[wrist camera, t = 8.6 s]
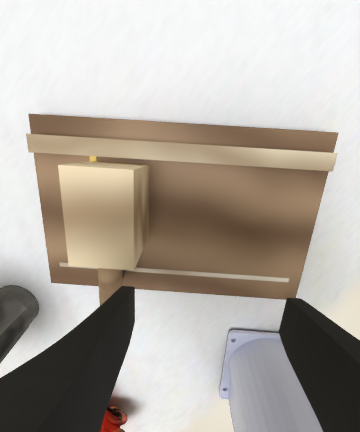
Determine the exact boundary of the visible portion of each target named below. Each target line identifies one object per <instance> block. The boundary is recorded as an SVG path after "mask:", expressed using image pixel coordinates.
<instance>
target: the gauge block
mask: <svg viewBox="0 0 360 432" xmlns="http://www.w3.org/2000/svg"><path fill="white" fill-rule="evenodd" d="M58 170H59V180H60V189H61V199H62V208H63V218H64V227H65V236H66V246H67V255H68V265H69V266H76V267H90V268H98V280H99V297H100V306H101V305H102V304H103V303H104V302H105V301H106V300H107V299H108V298H109V297H110V296H111V295H112V294H113V293H114V292H115V291H117V290H118V289H119V288H120V287H121V286H123V278H124V276H125V274H126V272H127V270H133V271H134V269H135V267H136V265H137V263H138V260H139V258H140V256H141V254H142V251H143V249H144V247H145V245H146V243H147V240H148V231H149V174H150V164H134V163H118V162H103V161H93V162H83V163H73V164H63V165H58Z"/></svg>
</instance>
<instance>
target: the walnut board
mask: <svg viewBox="0 0 360 432" xmlns="http://www.w3.org/2000/svg"><path fill="white" fill-rule="evenodd" d="M29 121H30V129H31V134H26V136H27V143H28V151H29V152H34V158H35V166H36V173H37V180H38V188H39V195H40V202H41V210H42V217H43V225H44V232H45V239H46V247H47V254H48V261H49V269H50V276H51V283H62V284H76V285H90V286H99V280H98V268H90V267H76V266H69V265H68V255H67V246H66V236H65V227H64V218H63V208H62V199H61V189H60V180H59V170H58V165H63V164H73V163H83V162H93V161H103V162H118V163H134V164H150V174H149V231H148V240H147V243H146V245H145V247H144V249H143V251H142V254H141V256H140V258H139V260H138V263H137V265H136V267H135V269H134V271H133V270H127V272H126V274H125V276H124V278H123V286H131V287H135V289H146V290H159V291H173V292H187V293H201V294H215V295H229V296H243V297H257V298H271V299H285V300H287V298H296V294H297V290H298V287H299V283H300V279H301V275H302V271H303V267H304V264H305V260H306V256H307V252H308V248H309V244H310V240H311V237H312V233H313V229H314V225H315V221H316V217H317V214H318V210H319V206H320V202H321V198H322V194H323V191H324V187H325V183H326V179H327V175H328V171H333V168H334V164H335V161H336V157H337V153H333V152H334V148H335V144H336V141H337V137H338V133H336V132H319V131H303V130H286V129H270V128H254V127H237V126H221V125H205V124H188V123H172V122H156V121H139V120H123V119H106V118H90V117H74V116H57V115H41V114H29Z"/></svg>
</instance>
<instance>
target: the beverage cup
mask: <svg viewBox="0 0 360 432" xmlns="http://www.w3.org/2000/svg"><path fill="white" fill-rule="evenodd" d="M38 310H39V307H38V302H37V300H36V298H35V297H34V296H33V295H32V294H31V293H30V292H29V291H27V290H26V289H24V288H22V287H19V286H12V285H10V286H4V287H3V288H1V289H0V363H1V362H2V360H3V359H4V358H5V357H6V355H7V354H8V353H9V351H10V350H11V349H12V348H13V346H14V345H15V344H16V342H17V341H18V340H19V338H20V337H21V336H22V335H23V333H24V332H25V331H26V329H27V328H28V326H29V324H30V323H31V322H32V320H33V319H34V318H35V316H36V315H37V313H38Z"/></svg>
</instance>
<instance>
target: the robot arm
mask: <svg viewBox="0 0 360 432" xmlns="http://www.w3.org/2000/svg"><path fill="white" fill-rule="evenodd" d="M134 322H135V287H131V286H121V287H120V288H119V289H118V290H117V291H115V292H114V293H113V294H112V295H111V296H110V297H109V298H108V299H107V300H106V301H105V302H104V303H103V304H102V305H101V306H100V307H99V308H97V309H96V310H95V311H94V312H93V313H92V314H91V315H90V316H89V317H87V318H86V319H85V320H84V321H83V322H81V323H80V324H79V325H78V326H77V327H75V328H74V329H73V330H72V331H70V332H69V333H68V334H67V335H65V336H64V337H63V338H61V339H60V340H59V341H57V342H56V343H55V344H53V345H52V346H50V347H49V348H47V349H46V350H45V351H43V352H42V353H40V354H39V355H37V356H35V357H34V358H32V359H31V360H29V361H27V362H26V363H24V364H23V365H21V366H19V367H18V368H16V369H15V370H13V371H12V372H10V373H8V374H6V375H5V376H3V377H1V378H0V432H100V430H101V427H102V423H103V419H104V416H105V412H106V409H107V406H108V403H109V400H110V397H111V394H112V391H113V389H114V386H115V383H116V380H117V377H118V375H119V372H120V369H121V366H122V363H123V361H124V358H125V355H126V352H127V349H128V346H129V343H130V339H131V335H132V331H133V327H134ZM233 338H234V339H233ZM219 395H220V397H221V398H223V399H229V405H230V410H231V416H232V422H233V428H234V432H360V340H358V339H357V338H355V337H353V336H352V335H351V334H350V333H348V332H346V331H345V330H344V329H343V328H341V327H340V326H338V325H337V324H336V323H334V322H333V321H332V320H330V319H329V318H327V317H326V316H325V315H323V314H322V313H321V312H319V311H318V310H316V309H315V308H314V307H312V306H311V305H309V304H308V303H306V302H305V301H303V300H302V299H299V298H287V301H286V305H285V309H284V313H283V317H282V321H281V325H280V329H279V333H270V332H256V331H243V330H231V331H230V332H229V334H228V340H227V346H226V352H225V359H224V365H223V371H222V377H221V384H220V390H219Z"/></svg>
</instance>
